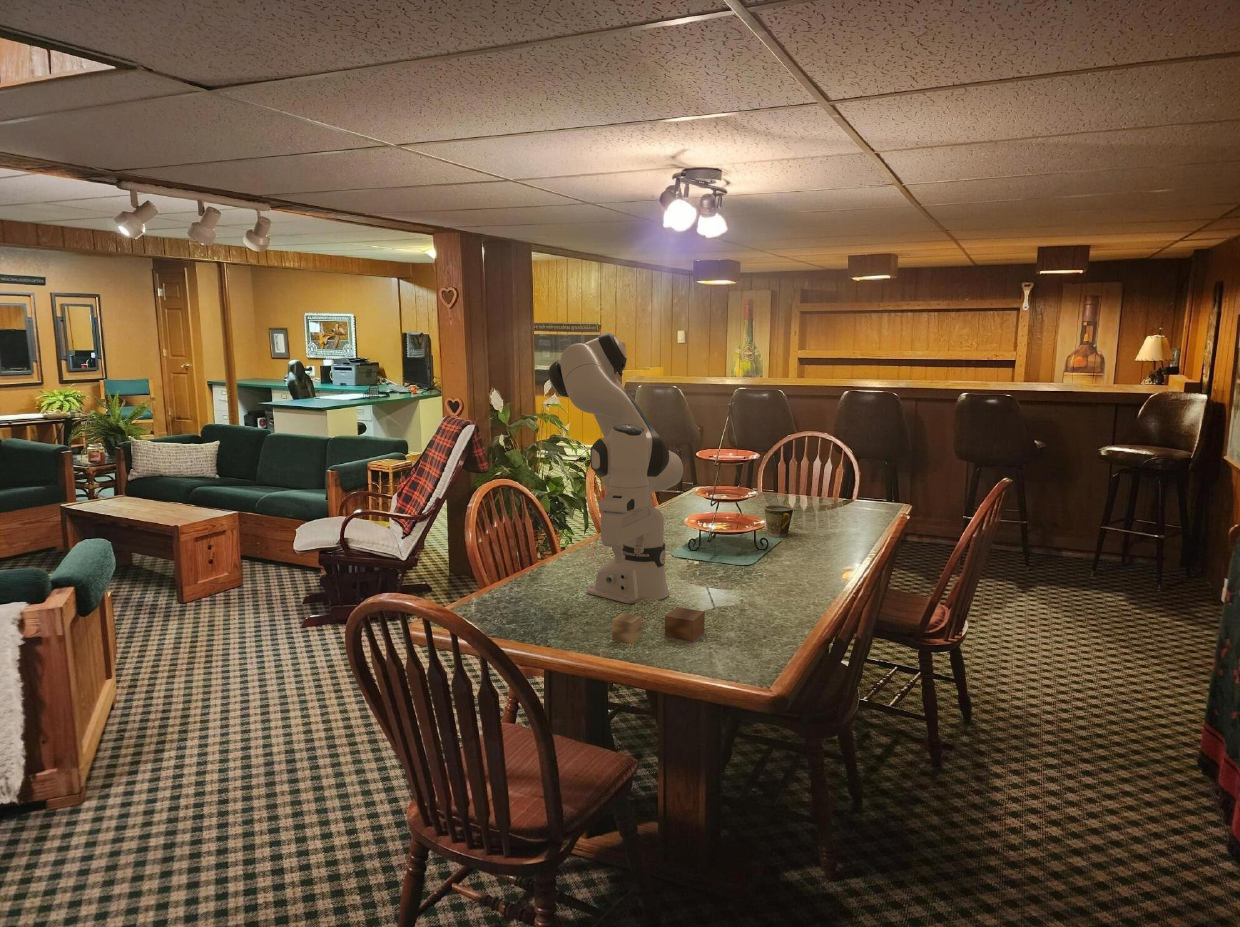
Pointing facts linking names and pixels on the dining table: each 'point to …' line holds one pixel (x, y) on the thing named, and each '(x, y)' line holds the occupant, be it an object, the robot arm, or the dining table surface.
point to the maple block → (626, 628)
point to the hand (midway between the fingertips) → (629, 557)
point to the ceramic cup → (778, 519)
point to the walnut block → (684, 624)
